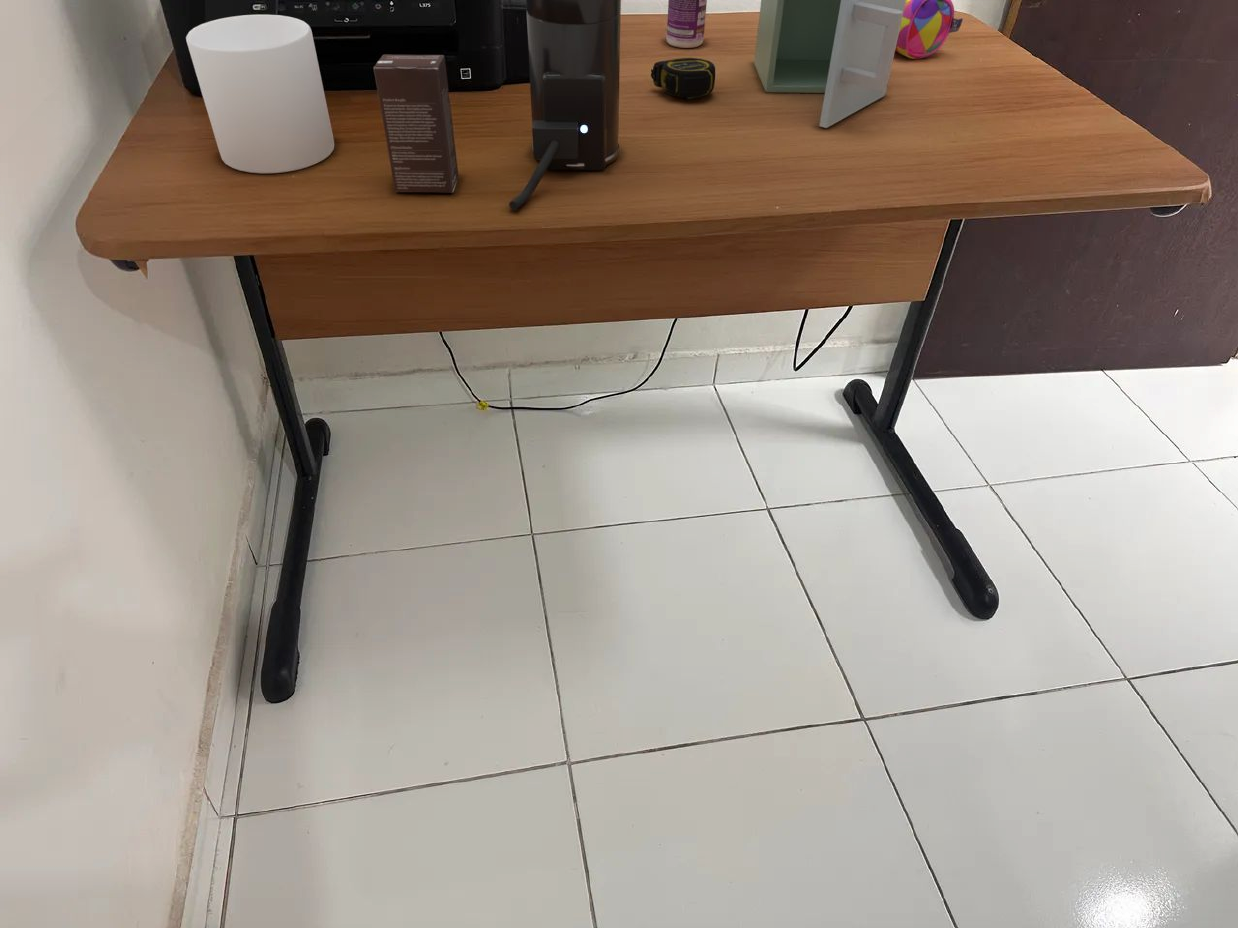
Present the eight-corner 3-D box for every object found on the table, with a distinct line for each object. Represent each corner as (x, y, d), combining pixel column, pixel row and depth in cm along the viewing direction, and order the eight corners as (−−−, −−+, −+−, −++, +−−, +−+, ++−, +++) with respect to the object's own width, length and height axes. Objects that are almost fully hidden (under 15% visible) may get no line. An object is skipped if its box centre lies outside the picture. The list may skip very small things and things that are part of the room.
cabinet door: (923, 106, 106) (961, -44, 95) (866, 140, 98) (900, -20, 87) (878, 93, 109) (909, -54, 98) (818, 126, 101) (846, -31, 90)
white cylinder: (356, 139, 96) (334, 22, 88) (292, 181, 88) (262, 57, 80) (266, 123, 99) (237, 9, 91) (197, 163, 91) (158, 41, 82)
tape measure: (697, 82, 112) (700, 51, 109) (723, 100, 107) (726, 68, 104) (649, 89, 110) (651, 57, 107) (673, 107, 105) (675, 75, 102)
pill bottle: (704, 49, 121) (710, -28, 115) (666, 48, 121) (670, -29, 115) (702, 37, 125) (708, -38, 119) (665, 36, 125) (669, -39, 119)
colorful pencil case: (957, 57, 121) (976, -15, 115) (904, 66, 118) (921, -7, 112) (860, 15, 135) (872, -50, 129) (810, 22, 132) (821, -45, 126)
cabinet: (880, 94, 110) (912, -56, 99) (765, 92, 109) (785, -58, 98) (860, 65, 118) (888, -76, 107) (753, 63, 117) (770, -78, 106)
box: (459, 176, 90) (446, 53, 81) (453, 195, 86) (438, 69, 78) (401, 174, 90) (382, 51, 81) (392, 194, 86) (371, 67, 78)
